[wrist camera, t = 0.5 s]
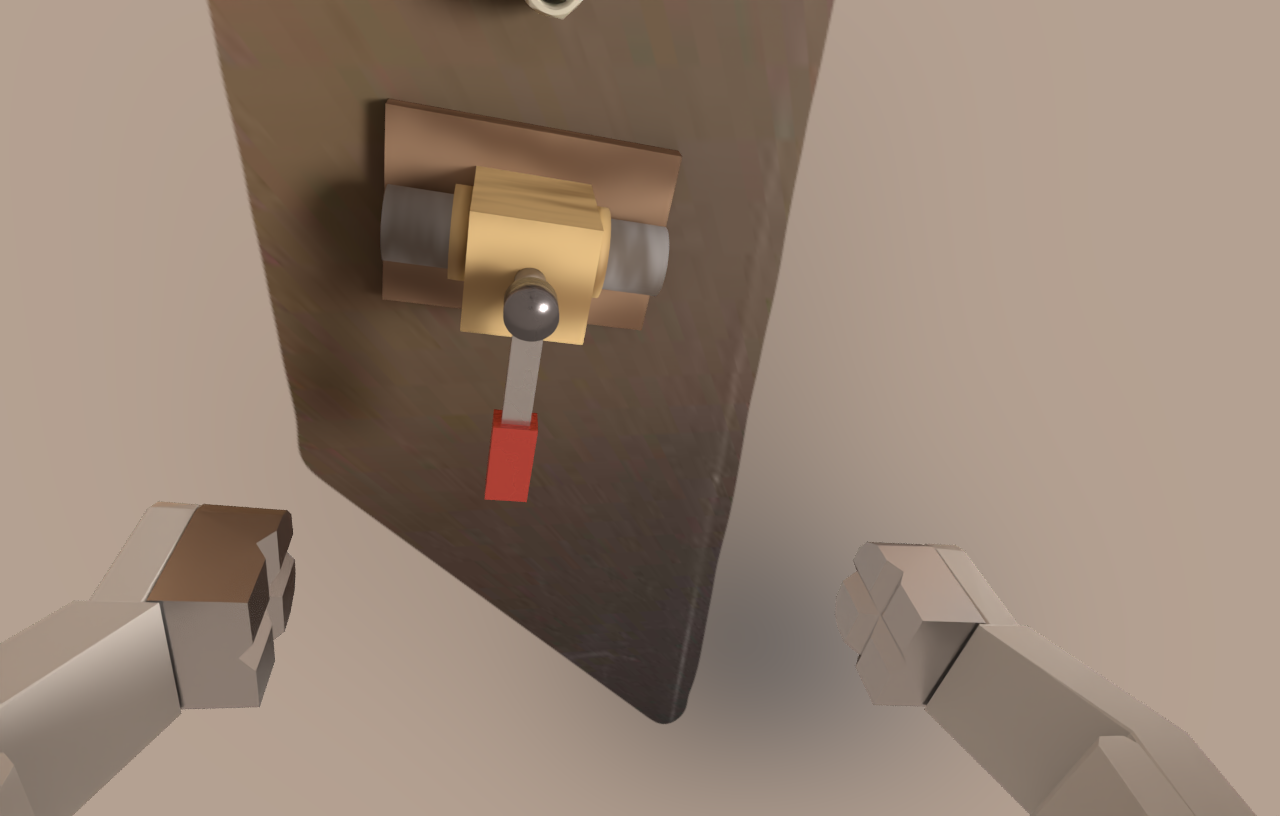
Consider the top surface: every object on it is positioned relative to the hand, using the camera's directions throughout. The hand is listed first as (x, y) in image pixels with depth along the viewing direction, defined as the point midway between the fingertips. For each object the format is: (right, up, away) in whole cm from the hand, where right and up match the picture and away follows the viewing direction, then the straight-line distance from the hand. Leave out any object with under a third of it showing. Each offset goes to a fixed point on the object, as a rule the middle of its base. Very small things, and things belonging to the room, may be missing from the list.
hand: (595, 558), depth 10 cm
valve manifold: (-8, +16, +44) cm, 47 cm away
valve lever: (-7, +3, +36) cm, 37 cm away
